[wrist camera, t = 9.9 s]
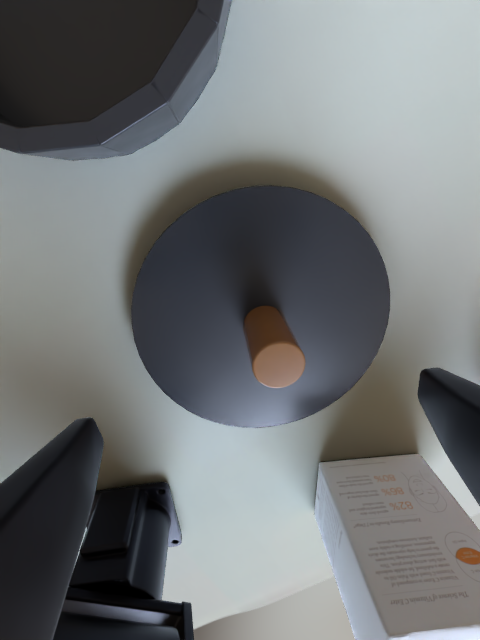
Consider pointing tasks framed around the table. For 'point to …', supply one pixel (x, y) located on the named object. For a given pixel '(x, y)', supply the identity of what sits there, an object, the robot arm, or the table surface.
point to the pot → (102, 72)
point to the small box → (399, 549)
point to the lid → (260, 306)
